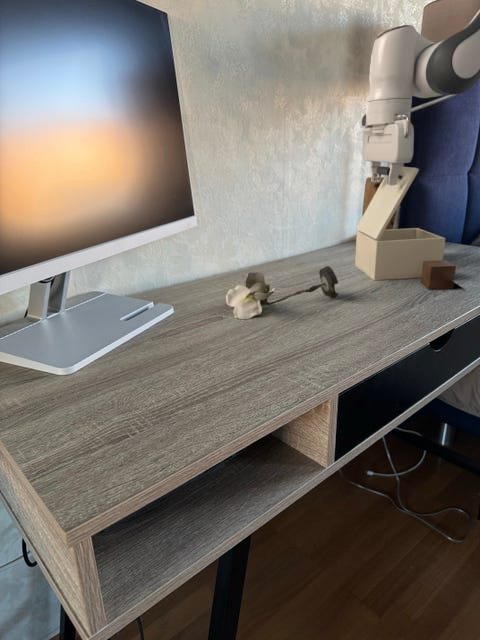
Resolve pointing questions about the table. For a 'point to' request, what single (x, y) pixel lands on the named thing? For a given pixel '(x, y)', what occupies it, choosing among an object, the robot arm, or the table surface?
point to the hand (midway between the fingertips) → (383, 183)
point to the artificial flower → (257, 293)
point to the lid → (385, 201)
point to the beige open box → (397, 253)
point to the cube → (438, 274)
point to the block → (368, 196)
